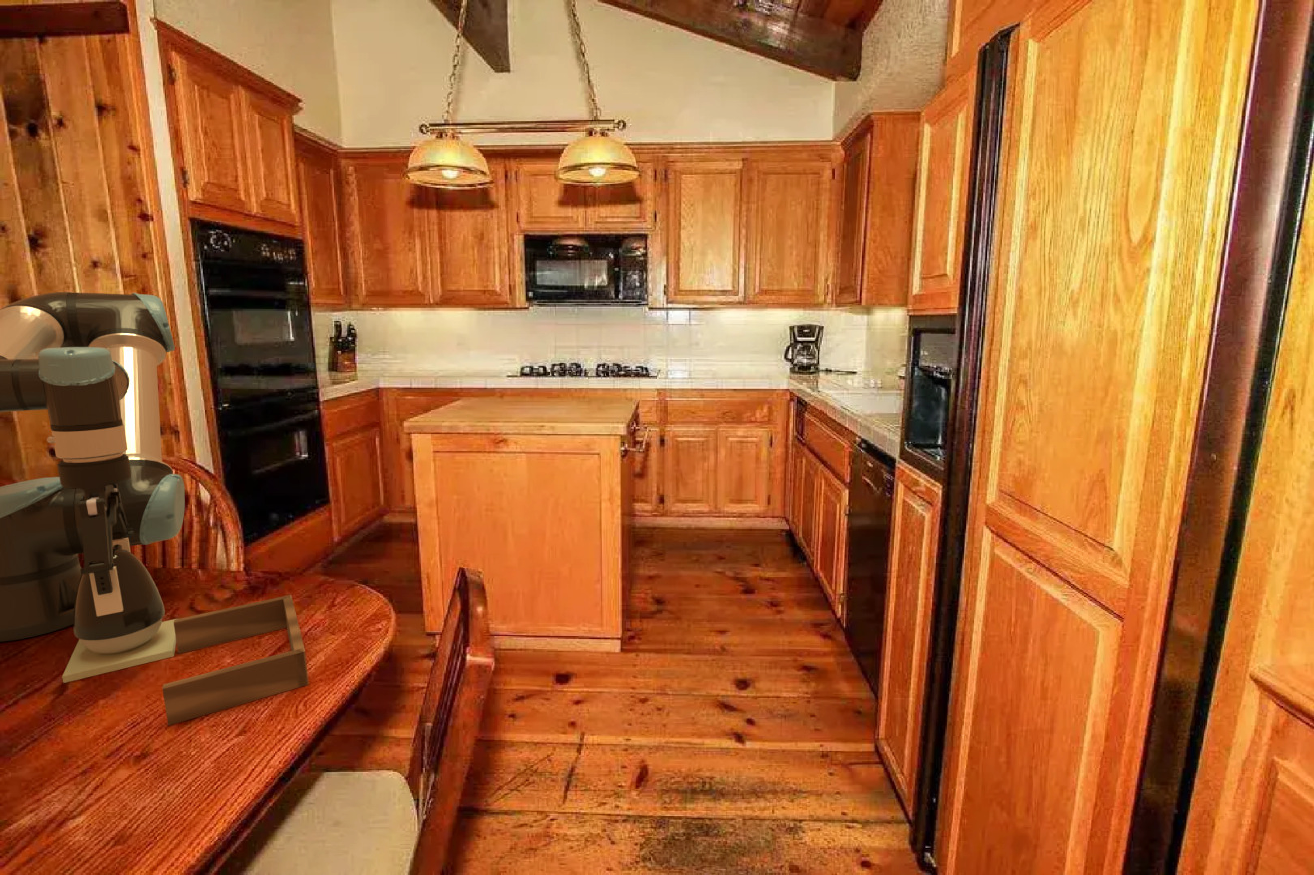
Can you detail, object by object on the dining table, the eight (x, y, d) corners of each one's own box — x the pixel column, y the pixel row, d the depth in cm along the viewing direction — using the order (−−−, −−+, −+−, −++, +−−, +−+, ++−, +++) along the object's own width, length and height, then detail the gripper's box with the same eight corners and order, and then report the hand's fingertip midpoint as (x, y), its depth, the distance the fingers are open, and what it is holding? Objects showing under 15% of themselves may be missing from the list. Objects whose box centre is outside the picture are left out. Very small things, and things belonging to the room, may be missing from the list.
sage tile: (80, 645, 93) (79, 639, 93) (178, 624, 100) (177, 618, 99) (63, 683, 83) (62, 676, 83) (173, 656, 90) (172, 650, 90)
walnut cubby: (178, 650, 92) (174, 619, 91) (294, 622, 100) (291, 594, 99) (168, 725, 74) (162, 689, 74) (308, 684, 83) (305, 651, 82)
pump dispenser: (172, 621, 98) (159, 532, 95) (163, 650, 90) (148, 554, 87) (88, 638, 93) (71, 544, 90) (70, 670, 84) (50, 568, 81)
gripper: (74, 444, 94) (97, 571, 98) (34, 479, 74) (65, 637, 78) (137, 439, 98) (156, 561, 102) (115, 471, 78) (140, 621, 82)
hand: (117, 595), depth 90 cm, fingers open, 13 cm apart
